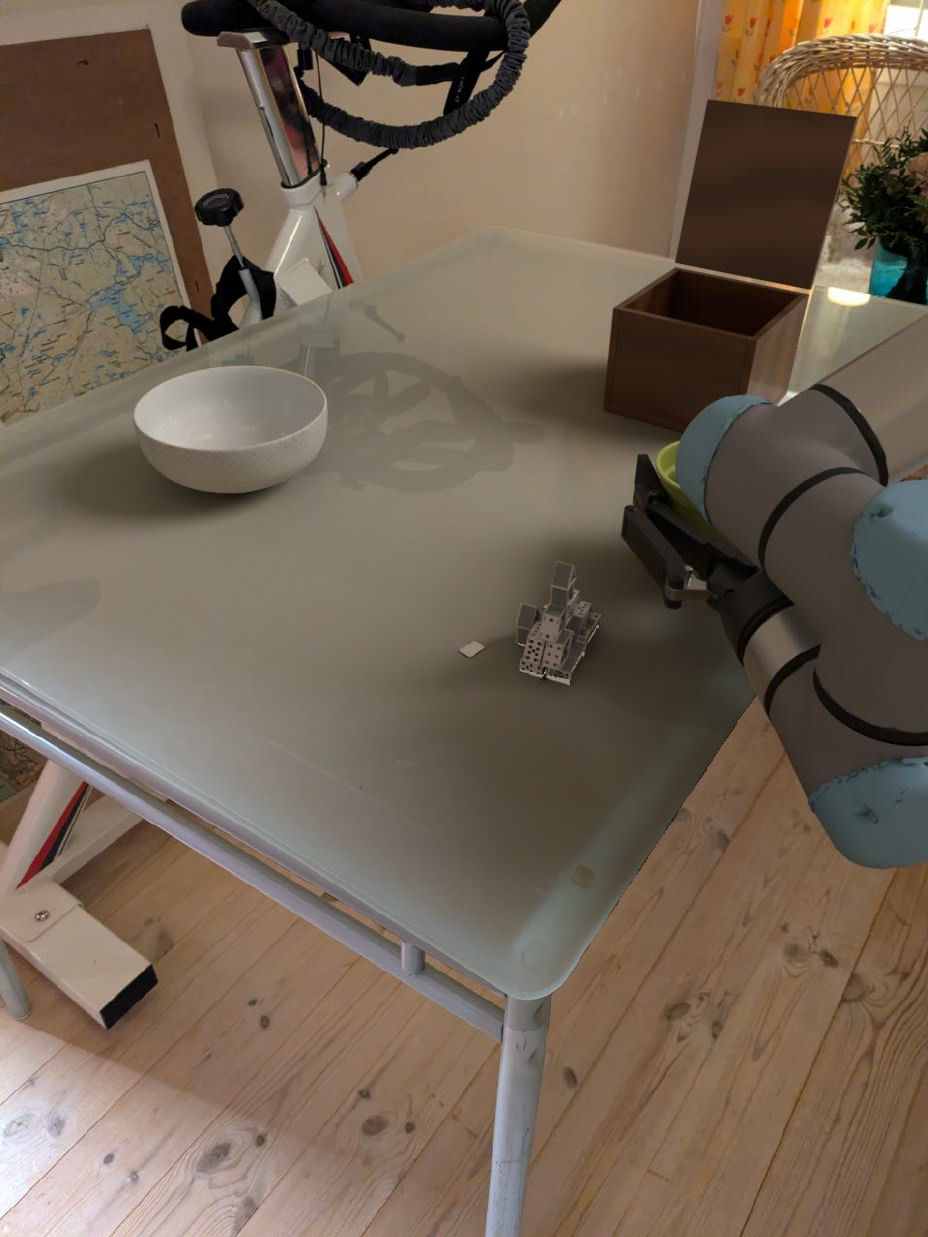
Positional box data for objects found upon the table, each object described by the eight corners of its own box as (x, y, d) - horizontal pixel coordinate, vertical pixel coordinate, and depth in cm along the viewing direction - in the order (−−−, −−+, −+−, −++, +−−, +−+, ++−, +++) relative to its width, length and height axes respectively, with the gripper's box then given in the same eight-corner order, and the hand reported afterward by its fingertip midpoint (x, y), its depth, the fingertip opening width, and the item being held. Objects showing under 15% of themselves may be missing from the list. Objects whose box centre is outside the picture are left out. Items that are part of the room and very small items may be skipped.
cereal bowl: (172, 540, 80) (155, 465, 76) (130, 453, 92) (114, 385, 87) (360, 492, 86) (354, 421, 82) (298, 417, 98) (291, 351, 93)
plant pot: (636, 584, 75) (650, 488, 70) (647, 521, 82) (660, 430, 77) (758, 601, 73) (782, 504, 68) (758, 535, 81) (780, 443, 75)
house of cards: (503, 587, 75) (506, 503, 70) (609, 616, 72) (619, 531, 67) (454, 655, 68) (454, 568, 64) (568, 689, 66) (577, 601, 61)
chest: (735, 447, 93) (757, 341, 86) (602, 409, 99) (612, 307, 92) (786, 393, 102) (809, 293, 95) (662, 362, 109) (675, 266, 102)
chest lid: (856, 116, 87) (859, 116, 88) (707, 98, 94) (710, 99, 94) (809, 289, 95) (811, 289, 95) (674, 262, 101) (677, 262, 102)
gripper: (628, 697, 62) (564, 512, 79) (939, 676, 63) (808, 498, 81) (642, 606, 57) (570, 430, 75) (977, 585, 59) (829, 418, 76)
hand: (694, 466), depth 78 cm, fingers closed on plant pot, 8 cm apart
